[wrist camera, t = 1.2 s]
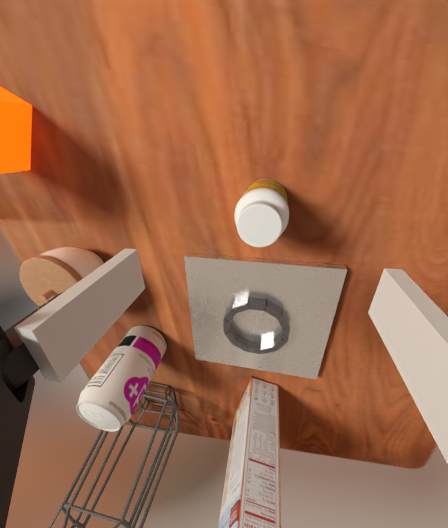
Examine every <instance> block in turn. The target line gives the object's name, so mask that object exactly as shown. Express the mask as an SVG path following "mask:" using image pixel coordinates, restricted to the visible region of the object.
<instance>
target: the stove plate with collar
mask: <svg viewBox="0 0 448 528" xmlns="http://www.w3.org/2000/svg"><path fill="white" fill-rule="evenodd" d="M184 260H185V269H186V278H187V287H188V296H189V305H190V314H191V323H192V332H193V341H194V350H195V358H196V359H199V360H204V361H210V362H216V363H222V364H228V365H234V366H240V367H246V368H252V369H258V370H264V371H269V372H275V373H281V374H287V375H293V376H299V377H305V378H311V379H317V376H318V373H319V369H320V366H321V362H322V359H323V355H324V351H325V348H326V344H327V341H328V337H329V333H330V330H331V326H332V323H333V319H334V316H335V312H336V308H337V305H338V301H339V298H340V294H341V291H342V287H343V283H344V280H345V276H346V273H347V268H346V266H345V265H337V264H324V263H312V262H299V261H286V260H273V259H260V258H248V257H235V256H222V255H209V254H196V253H186V254H185V256H184Z"/></svg>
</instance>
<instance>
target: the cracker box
mask: <svg viewBox="0 0 448 528" xmlns="http://www.w3.org/2000/svg"><path fill="white" fill-rule="evenodd" d="M218 528H281V498H280V443H279V387H278V385H276V384H273V383H270V382H267V381H263V380H260V379H257V378H254V377H251V378H250V381H249V383H248V385H247V387H246V390H245V392H244V394H243V396H242V399H241V401H240V403H239V405H238V407H237V410H236V412H235V416H234V423H233V430H232V437H231V444H230V451H229V458H228V465H227V471H226V479H225V486H224V492H223V499H222V506H221V512H220V519H219V526H218Z"/></svg>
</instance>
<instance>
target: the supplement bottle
mask: <svg viewBox="0 0 448 528" xmlns="http://www.w3.org/2000/svg"><path fill="white" fill-rule="evenodd" d="M288 221H289V207H288V200H287V195H286V192H285V190H284V188H283V187H282V186H281V185H280V184H279V183H278V182H276V181H274V180H271V179H261V180H258V181H256V182H254V183H252V184H251V185H250V186H249V187H248V188H247V190H246V191H245V193H244V194H243V196H242V197H241V199H240V200H239V202H238V204H237V206H236V209H235V223H236V226H237V230H238V233H239V235H240V237H241V239H242V240H243V241H244V242H245V243H247V244H249V245H251V246H254V247H265V246H268V245H270V244H272V243H274V242H275V241H276V240H277V239H278V237H279V236H280V235H281V234H282V233H283V232H284V230H285V229H286V227H287V224H288Z"/></svg>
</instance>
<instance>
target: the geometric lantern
mask: <svg viewBox="0 0 448 528" xmlns="http://www.w3.org/2000/svg"><path fill="white" fill-rule="evenodd" d="M149 384H153V385H158V386H163V387H167V388H166V390H165V392H164V393H161V392H156V391H150V390H145V392H150V393H156V394H162V395H165V399H164V398H160V397H156V396H152V395H148V394H144V393H143V395H142V396H143V397H144V400H145V401H144V403H143V405H142V404H141V401H140V400H139V404H140V406H141V408H139V409H138V410H136V411H135V412H133V414H135V413H136V412H138V411H139V410H141V409H143V412H142V413H141V415H140V417H139V418H138V420H137V421H136V423H134V422H133V421H132V420H131V419H129V422H130V423H131V424H132V425H133V427H132V429H131V431H130V433H129V435H128V437H127V439H126V441H125V443H124V445H123V446H122V448H121V451H120V452H119V454H118V456H117V458H116V461H115V462H114V464H113V466H112V468H111V470H110V472H109V474H108V476H107V478H106V480H105V482H104V484H103V486H102V488H101V490H100V492H99V494H98V496H97V498H96V500H95V502H94V504H93V506H92V508H91V510H87V509H85V507H86V505H87V502H88V501H89V499H90V496H91V494H92V492H93V490H94V488H95V486H96V484H97V482H98V479H99V477H100V475H101V473H102V471H103V469H104V466H105V464H106V462H107V460H108V458H109V456H110V454H111V452H112V450H113V447H114V445H115V443H116V441H117V439H118V437H119V435H120V433H121V430H122V428H123V426H124V425H123V426H121V427H120V429H119V431H118V433H117V436H116V438H115V440H114V442H113V444H112V446H111V448H110V450H109V452H108V454H107V456H106V458H105V460H104V463H103V465H102V467H101V469H100V471H99V473H98V475H97V477H96V479H95V481H94V484H93V486H92V488H91V490H90V492H89V494H88V496H87V498H86V500H85V502H84V504H83V506H82V508H81V507H77V506H74V505H73V504H74V501H75V500H76V498H77V495H78V494H79V492H80V490H81V488H82V485H83V483H84V481H85V479H86V477H87V475H88V473H89V471H90V469H91V467H92V465H93V463H94V461H95V459H96V457H97V454H98V453H99V451H100V448H101V446H102V444H103V442H104V440H105V438H106V436H107V434H108V432H109V431H106V432H105V434H104V436H103V438H102V440H101V442H100V444H99V446H98V448H97V450H96V452H95V454H94V456H93V458H92V460H91V462H90V464H89V466H88V468H87V470H86V472H85V474H84V476H83V478H82V480H81V482H80V484H79V486H78V488H77V490H76V492H75V494H74V496H73V498H72V500H71V502H70V503H67V501H68V499H69V497H70V495H71V493H72V491H73V489H74V487H75V485H76V484H77V482H78V480H79V478H80V476H81V474H82V472H83V470H84V468H85V466H86V464H87V462H88V460H89V458H90V456H91V455H92V452H93V451H94V449H95V447H96V445H97V443H98V441H99V439H100V437H101V435H102V433H103V431H104V430H101V431H100V433H99V435H98V437H97V439H96V441H95V442H94V444H93V446H92V448H91V450H90V452H89V454H88V456H87V458H86V460H85V461H84V463H83V465H82V467H81V469H80V471H79V473H78V475H77V476H76V478H75V480H74V482H73V484H72V486H71V488H70V490H69V492H68V494H67V495H66V497H65V499H64V501H63V503H62V505H61V506H60V508H59V510H58V512H57V514H56V515H55V517H54V519H53V521H52V522H51V524H50V526H49V528H51V526H52V525H53V523H54V521H55V519H56V518H57V516H58V514H59V512H60V511H61V510H62V511H63V512H64V513H65V519H64V523H63V527H62V528H66V526H67V522H68V518H69V519H70V521H71V522H72V523H73V526H72V527H71V528H74V527H78V528H85V526H86V524H87V522H88V520H89V518H90V516H91V515H93V516H97V517H100V518H103V519H106V520H110V521H113V522H116V523H118V524H117V525H116V526H115V527H114V528H117V527H118V526H119V525H120V524H122V525H123V526H125V527H126V528H135V526H136V523H137V520H138V518H139V515H140V513H141V510H142V508H143V505H144V503H145V500H146V498H147V495H148V493H149V490H150V487H151V485H152V482H153V480H154V477H155V475H156V472H157V470H158V467H159V465H160V462H161V460H162V457H163V454H164V452H165V449H166V447H167V444H168V442H169V439H170V437H171V434H172V433H175V435H174V438H173V440H172V443H171V446H170V448H169V451H168V453H167V456H166V459H165V461H164V464H163V466H162V469H161V472H160V474H159V477H158V480H157V483H156V485H155V488H154V490H153V493H152V495H151V498H150V501H149V503H148V506H147V508H146V511H145V514H144V517H143V519H142V522H141V524H140V527H139V528H143V525H144V522H145V520H146V517H147V514H148V512H149V509H150V506H151V503H152V501H153V498H154V495H155V493H156V490H157V487H158V485H159V482H160V479H161V477H162V474H163V471H164V469H165V466H166V463H167V461H168V458H169V455H170V452H171V450H172V447H173V445H174V442H175V439H176V437H177V434H178V431H179V418H178V405H176V402H175V397H174V392H173V388H172V387H170V386H168V385H163V384H158V383H153V382H149ZM168 388H170V389H171V390H170V392H169V394H167V393H166V392H167V389H168ZM171 391H172V396H173V399H172V398H171V396H170V394H171ZM167 396H168V398H169V400H168V399H167ZM145 397H148V398H152V399H156V400H160V401H164V402H165V403H164V404H160V403H155V402H151V401H148V400H147V399H146V398H145ZM173 400H174V401H173ZM146 401H147V402H148V404H147V406H146V408H145V409H144V408H143V406H144V404H145V402H146ZM171 401H172V402H171ZM149 403H151V404H156V405H161V406H163V409H162V411H161V412H159V411H152V410H147V408H148V405H149ZM167 403H169V404H170V405H167ZM166 407H170V408H171V412H170V413H165V412H164V411H165V408H166ZM144 411H146V412H153V413H160V417H159V419H158V422H157V425H156V427H151V426H147V425H142V424H138V421H139V419H140V418H141V416H142V415H143V413H144ZM133 414H132V415H133ZM163 414H166V415H170V422H169V425H168V427H167V429H166V430H165V429H160V428H158V427H159V425H160V422H161V419H162V416H163ZM175 414H176V420H175ZM173 419H174V423H175V426H176V430H173V431H172V422H173ZM135 426H138V427H143V428H147V429H152V430H154V432H153V435H152V438H151V440H150V443H149V446H148V448H147V451H146V454H145V456H144V459H143V461H142V464H141V467H140V469H139V472H138V475H137V477H136V480H135V483H134V485H133V488H132V490H131V493H130V495H129V498H128V501H127V504H126V506H125V509H124V511H123V514H122V516H121V519H116V518H113V517H110V516H107V515H104V514H100V513H97V512H94V511H93V510H94V508H95V506H96V504H97V502H98V500H99V498H100V496H101V494H102V492H103V490H104V488H105V486H106V484H107V482H108V480H109V478H110V476H111V474H112V472H113V470H114V468H115V466H116V464H117V462H118V460H119V458H120V456H121V454H122V452H123V450H124V447H125V446H126V444H127V442H128V440H129V438H130V435H131V434H132V432H133V430H134V428H135ZM170 428H171V431H169V429H170ZM157 431H161V432H165V434H164V437H163V439H162V442H161V444H160V447H159V449H158V452H157V454H156V456H155V459H154V461H153V464H152V466H151V469H150V471H149V473H148V477H147V478H146V481H145V484H144V486H143V488H142V491H141V493H140V496H139V498H138V501H137V503H136V506H135V508H134V511H133V513H132V516H131V518H130V521H129V522H127V521H126V520H125V516H126V513H127V511H128V508H129V505H130V503H131V500H132V497H133V494H134V492H135V489H136V487H137V484H138V481H139V478H140V476H141V473H142V470H143V468H144V465H145V462H146V459H147V457H148V454H149V452H150V449H151V446H152V443H153V441H154V438H155V435H156V433H157ZM168 433H169V436H168V438H167V441H166V443H165V446H164V448H163V450H162V453H161V456H160V458H159V461H158V463H157V466H156V468H155V470H154V473H153V475H152V478H151V481H150V483H149V485H148V488H147V490H146V487H147V484H148V482H149V479H150V477H151V474H152V472H153V469H154V467H155V464H156V462H157V459H158V457H159V454H160V452H161V449H162V447H163V444H164V442H165V439H166V437H167V434H168ZM145 490H146V493H145V495H144V498H143V500H142V503H141V505H140V502H141V499H142V497H143V494H144V492H145ZM139 505H140V508H139V510H138V507H139ZM65 508H67V510H66V509H65ZM70 509H74V510H77V511H80V513H79V515H78V517H77V519H76V521H75V520H74V519H73V518H72V516H71V515H70V514H69V513H70ZM137 510H138V513H137V515H136V512H137ZM83 512H84V513H87V514H88V515H87V517H86V520H85V522H84V523H83V524H81V523H80V522H78V521H79V519H80V517H81V515H82V513H83ZM135 515H136V518H135V520H134V523H133V525H132V527H131V524H132V522H133V519H134V517H135Z"/></svg>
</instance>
